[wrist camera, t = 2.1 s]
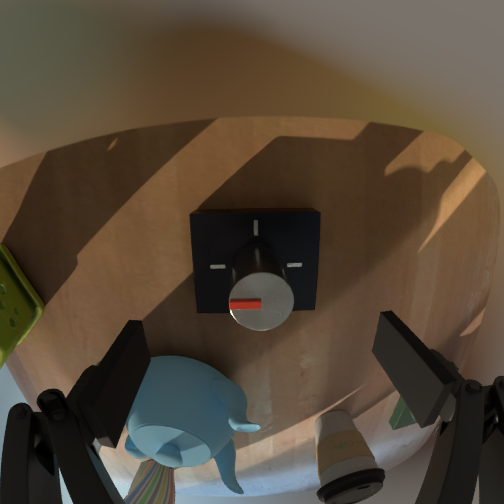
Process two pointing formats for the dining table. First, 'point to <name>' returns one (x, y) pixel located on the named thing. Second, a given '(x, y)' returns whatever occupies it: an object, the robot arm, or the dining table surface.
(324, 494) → the coffee cup
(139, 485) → the vase
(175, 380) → the teapot
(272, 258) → the stove knob
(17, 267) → the flower pot
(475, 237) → the dining table surface
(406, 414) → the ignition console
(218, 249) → the panel
